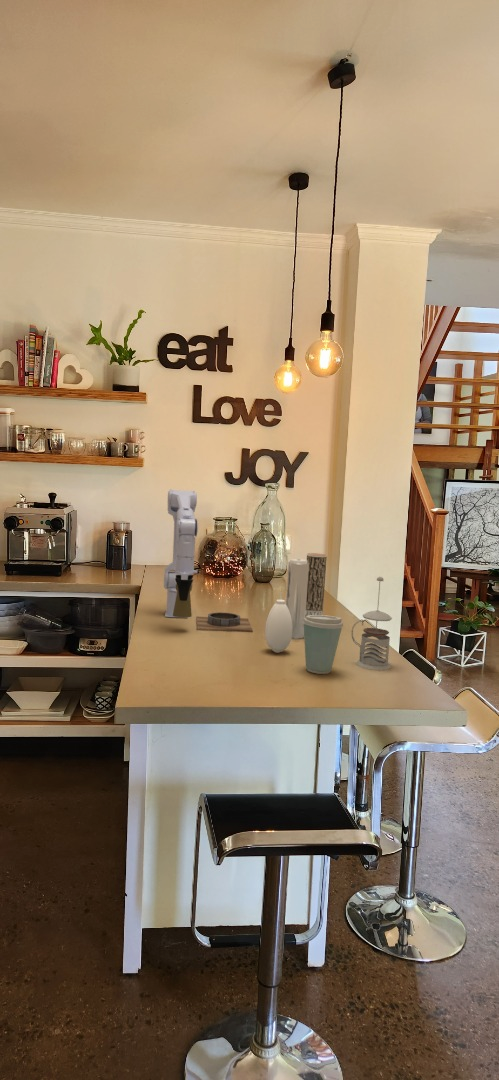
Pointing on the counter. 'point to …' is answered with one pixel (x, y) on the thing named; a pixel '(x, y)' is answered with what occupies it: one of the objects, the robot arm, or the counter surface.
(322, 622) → the disposable coffee cup
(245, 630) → the walnut mat
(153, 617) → the counter surface
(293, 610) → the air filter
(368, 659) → the french press
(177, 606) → the cork
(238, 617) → the collar
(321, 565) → the grey patterned cylinder
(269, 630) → the white vase
